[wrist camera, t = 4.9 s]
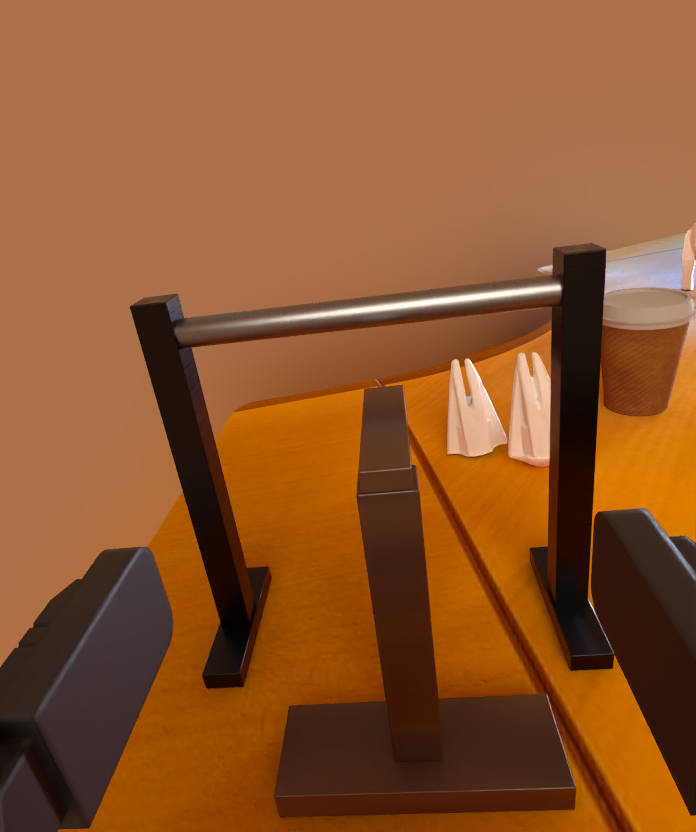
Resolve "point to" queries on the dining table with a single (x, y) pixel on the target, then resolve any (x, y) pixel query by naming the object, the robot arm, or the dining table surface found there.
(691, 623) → the robot arm
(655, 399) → the disposable coffee cup
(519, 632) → the dining table surface
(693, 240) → the cat figurine
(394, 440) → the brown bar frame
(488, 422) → the shaker set
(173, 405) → the rack
